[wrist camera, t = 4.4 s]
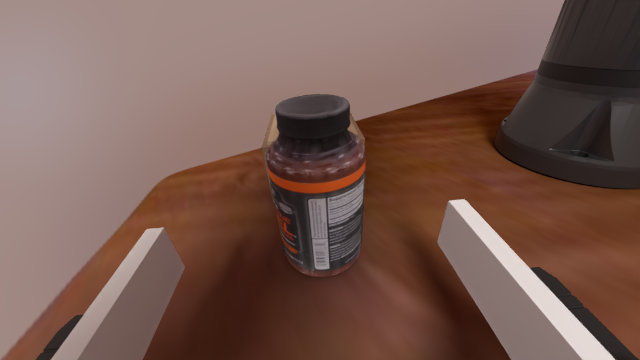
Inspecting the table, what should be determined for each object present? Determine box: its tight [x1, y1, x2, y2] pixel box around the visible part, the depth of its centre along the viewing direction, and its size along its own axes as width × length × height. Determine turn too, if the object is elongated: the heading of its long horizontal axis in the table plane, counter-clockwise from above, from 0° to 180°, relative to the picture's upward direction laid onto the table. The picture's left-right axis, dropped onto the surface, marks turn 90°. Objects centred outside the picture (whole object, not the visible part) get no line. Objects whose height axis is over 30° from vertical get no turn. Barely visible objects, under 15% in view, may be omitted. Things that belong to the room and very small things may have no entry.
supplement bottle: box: [266, 94, 366, 277], centre depth 16 cm, size 6×6×11 cm
